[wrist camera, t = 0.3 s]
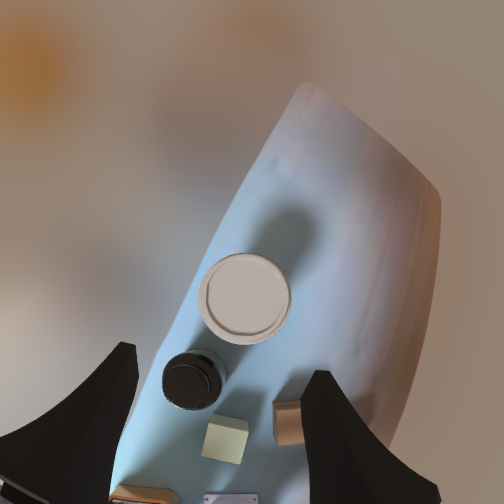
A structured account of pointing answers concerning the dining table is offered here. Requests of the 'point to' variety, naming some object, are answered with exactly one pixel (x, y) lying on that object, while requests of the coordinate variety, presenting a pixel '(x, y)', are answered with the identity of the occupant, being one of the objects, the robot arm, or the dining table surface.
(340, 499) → the robot arm
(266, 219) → the dining table surface
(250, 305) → the disposable coffee cup
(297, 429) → the walnut block
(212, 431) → the sage-green block
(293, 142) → the dining table surface
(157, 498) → the whiskey bottle
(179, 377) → the supplement bottle
